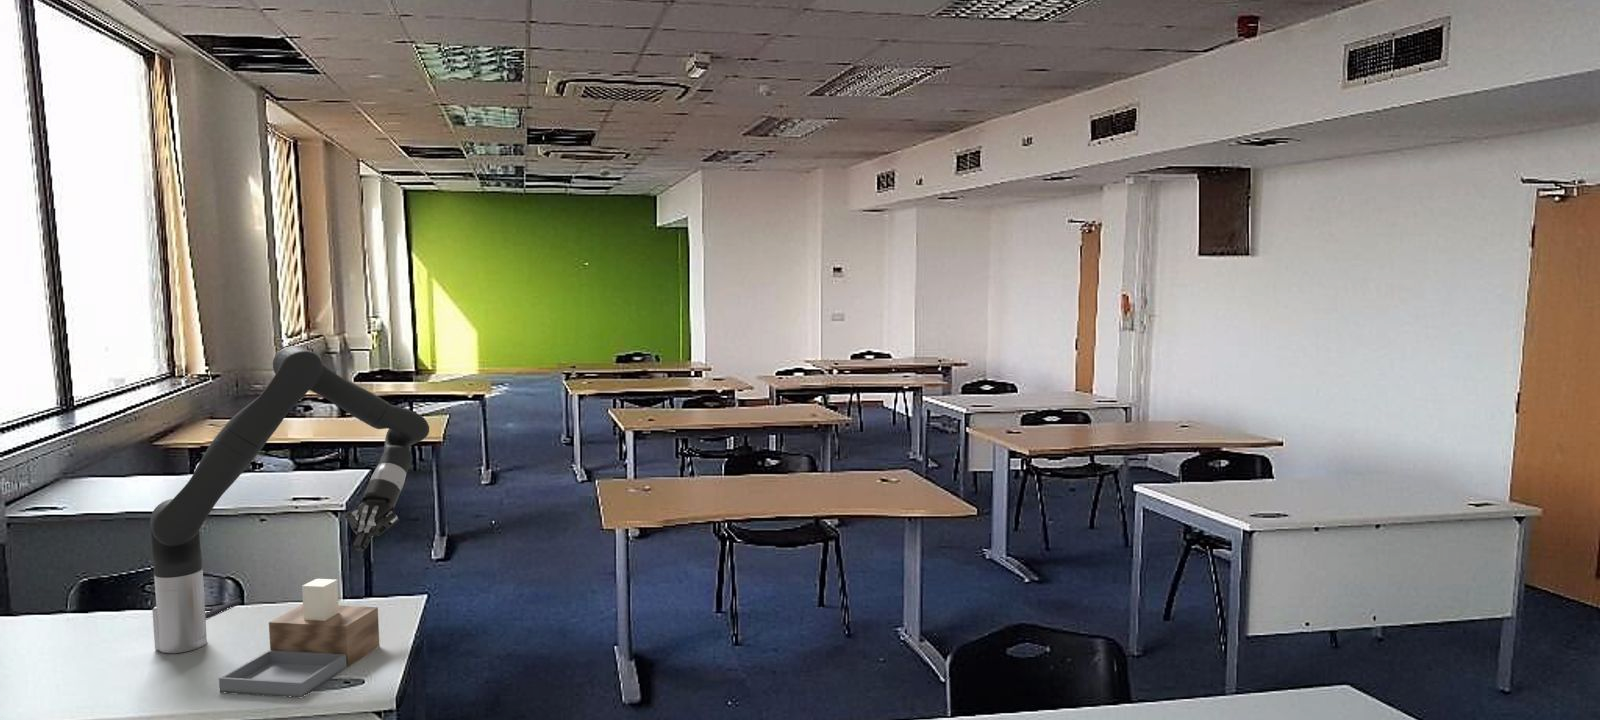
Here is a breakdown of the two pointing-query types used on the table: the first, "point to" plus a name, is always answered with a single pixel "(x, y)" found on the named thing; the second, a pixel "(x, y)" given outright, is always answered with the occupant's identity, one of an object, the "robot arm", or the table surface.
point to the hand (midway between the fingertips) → (358, 549)
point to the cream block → (320, 599)
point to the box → (283, 673)
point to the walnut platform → (328, 633)
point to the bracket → (220, 608)
